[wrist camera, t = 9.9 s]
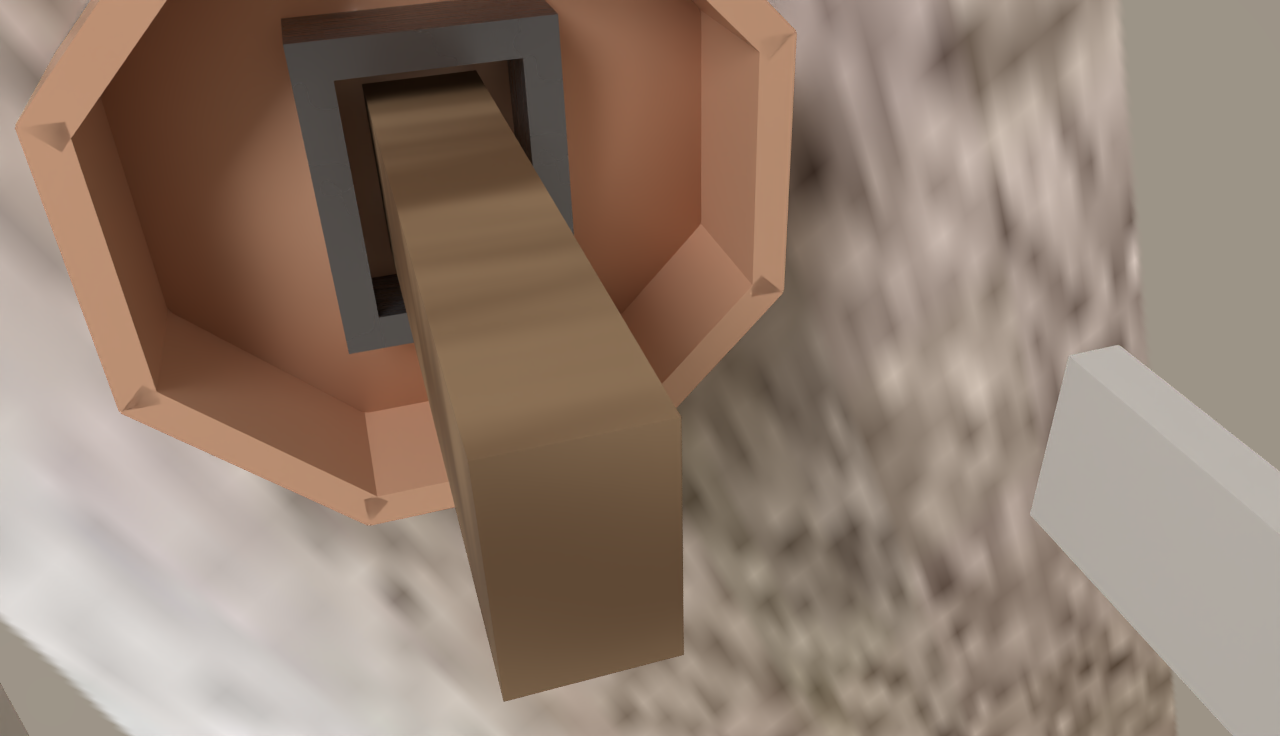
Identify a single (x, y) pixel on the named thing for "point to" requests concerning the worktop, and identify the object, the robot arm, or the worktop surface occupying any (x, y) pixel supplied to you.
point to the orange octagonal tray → (293, 237)
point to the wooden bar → (530, 396)
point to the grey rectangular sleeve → (403, 42)
